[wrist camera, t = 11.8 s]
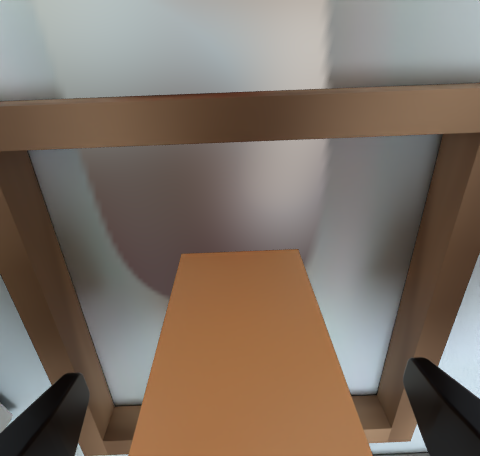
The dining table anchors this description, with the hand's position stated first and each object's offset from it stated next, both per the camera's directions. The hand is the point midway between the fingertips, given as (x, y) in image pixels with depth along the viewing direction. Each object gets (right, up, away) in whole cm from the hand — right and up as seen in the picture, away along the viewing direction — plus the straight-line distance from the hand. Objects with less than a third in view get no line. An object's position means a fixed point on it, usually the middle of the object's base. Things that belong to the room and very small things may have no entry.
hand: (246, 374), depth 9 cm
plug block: (0, +1, +3) cm, 3 cm away
